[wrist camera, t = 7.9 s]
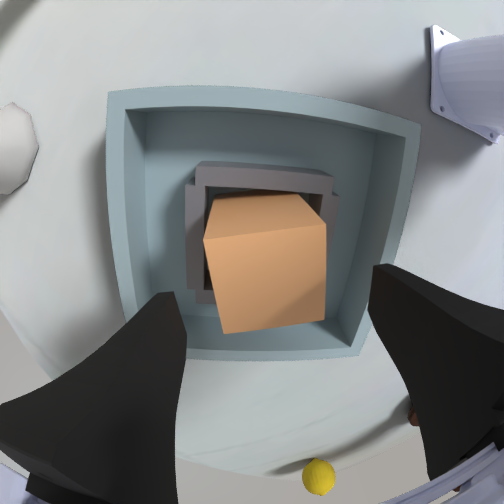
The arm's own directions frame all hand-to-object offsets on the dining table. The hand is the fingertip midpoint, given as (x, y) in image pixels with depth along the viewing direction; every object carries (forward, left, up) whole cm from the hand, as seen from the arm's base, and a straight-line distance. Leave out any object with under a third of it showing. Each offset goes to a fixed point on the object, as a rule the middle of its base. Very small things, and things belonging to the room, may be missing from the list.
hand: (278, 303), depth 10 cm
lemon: (-14, +41, -10) cm, 45 cm away
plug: (0, 0, -8) cm, 8 cm away
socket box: (0, 0, -9) cm, 9 cm away
